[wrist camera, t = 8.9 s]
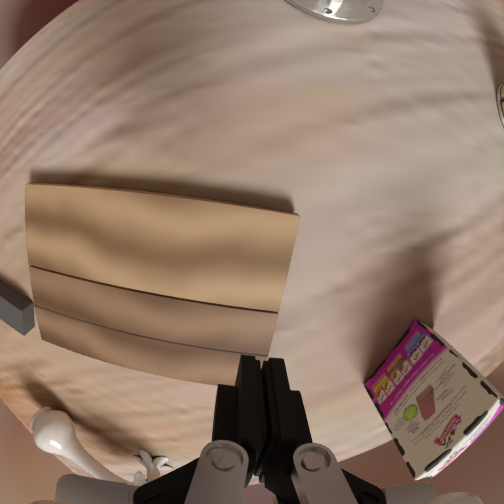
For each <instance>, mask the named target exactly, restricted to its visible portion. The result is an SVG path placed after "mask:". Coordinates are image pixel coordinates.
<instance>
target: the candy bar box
mask: <svg viewBox="0 0 504 504" xmlns="http://www.w3.org/2000/svg"><path fill="white" fill-rule="evenodd" d="M364 387H365V388H366V390H367V392H368V394H369V396H370V398H371V399H372V401H373V403H374V405H375V407H376V408H377V410H378V412H379V414H380V416H381V417H382V419H383V421H384V423H385V425H386V426H387V428H388V430H389V432H390V434H391V436H392V438H393V440H394V441H395V444H396V445H397V447H398V449H399V451H400V453H401V455H402V457H403V458H404V460H405V462H406V464H407V467H408V468H409V470H410V473H411V474H412V476H413V478H414V480H419V479H423V478H428V477H433V476H435V475H436V474H438V473H439V472H440V471H441V470H443V469H444V468H445V467H446V466H447V465H449V464H450V463H451V462H452V461H453V460H455V459H456V458H457V457H458V456H459V455H460V454H461V453H462V452H463V451H464V450H465V449H466V448H468V446H470V445H471V444H472V443H473V442H474V441H475V439H476V438H478V436H479V435H480V434H481V433H482V432H483V431H484V430H485V429H486V428H487V427H488V426H489V425H490V423H491V422H492V421H493V420H494V419H495V418H496V416H497V415H498V414H499V413H500V412H501V410H502V409H503V408H504V397H503V396H502V395H501V394H500V392H498V390H497V389H495V387H493V386H492V385H491V384H490V383H489V382H488V380H487V379H486V378H485V377H483V376H482V375H481V374H480V373H479V372H478V371H477V370H476V369H475V368H474V367H473V366H472V365H471V364H470V363H469V362H468V361H467V360H466V359H465V358H464V357H463V356H462V355H461V354H460V353H459V352H457V351H456V350H455V349H454V348H453V347H452V346H451V345H450V344H449V343H448V342H447V341H446V340H445V339H443V338H442V337H441V336H440V335H439V334H438V333H437V332H435V331H434V330H433V329H431V328H430V327H428V326H427V325H425V324H424V323H422V322H421V321H419V320H418V319H415V320H414V322H413V323H412V325H411V326H410V327H409V329H408V330H407V332H406V333H405V334H404V336H403V337H402V339H401V340H400V341H399V343H398V344H397V345H396V347H395V348H394V349H393V350H392V352H391V353H390V354H389V356H388V357H387V358H386V359H385V361H384V362H383V363H382V364H381V366H380V367H379V368H378V369H377V371H376V372H375V373H374V374H373V375H372V376H371V378H370V379H369V380H368V381H367V382H366V383H365V384H364Z"/></svg>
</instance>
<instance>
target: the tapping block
mask: <svg viewBox="0 0 504 504" xmlns="http://www.w3.org/2000/svg"><path fill="white" fill-rule="evenodd" d="M0 319H1V320H3V321H4V322H5V323H7V324H8V325H10V326H11V327H12V328H14V329H15V330H16V331H18V332H19V333H21V334H22V335H24V336H25V335H26V334H27V333H28V332H29V331H30V330H31V329H32V328H33V327H35V322H34V303H33V301H31V300H29V299H28V298H26V297H25V296H23V295H21V294H20V293H18V292H17V291H15V290H14V289H12V288H11V287H9V286H8V285H6V284H5V283H4V282H2V281H1V280H0Z"/></svg>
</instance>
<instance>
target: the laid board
mask: <svg viewBox="0 0 504 504" xmlns="http://www.w3.org/2000/svg"><path fill="white" fill-rule="evenodd" d="M29 270H30V278H31V286H32V293H33V299H34V306H35V310H36V315H37V320H38V325H39V329H40V334H41V338H42V340H45V341H47V342H49V343H52V344H55V345H57V346H60V347H62V348H65V349H68V350H71V351H73V352H76V353H79V354H82V355H85V356H88V357H91V358H94V359H98V360H101V361H104V362H108V363H111V364H115V365H118V366H122V367H125V368H129V369H133V370H137V371H141V372H146V373H150V374H154V375H159V376H164V377H169V378H174V379H179V380H184V381H190V382H196V383H203V384H209V385H216V386H218V384H224V385H232V386H235V381H236V376H237V371H238V366H239V361H240V357H241V354H243V355H251V356H255V358H256V360H260V363H261V368H262V364H263V361H264V360H265V361H267V358H268V354H269V350H270V346H271V342H272V338H273V334H274V329H275V325H276V321H277V317H278V312H276V311H267V310H259V309H251V308H244V307H237V306H229V305H222V304H216V303H209V302H203V301H196V300H190V299H184V298H178V297H173V296H167V295H161V294H156V293H151V292H145V291H140V290H135V289H130V288H125V287H120V286H116V285H111V284H106V283H102V282H97V281H93V280H89V279H84V278H80V277H76V276H72V275H68V274H64V273H60V272H56V271H52V270H48V269H44V268H40V267H37V266H33V265H31V266H29Z"/></svg>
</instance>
